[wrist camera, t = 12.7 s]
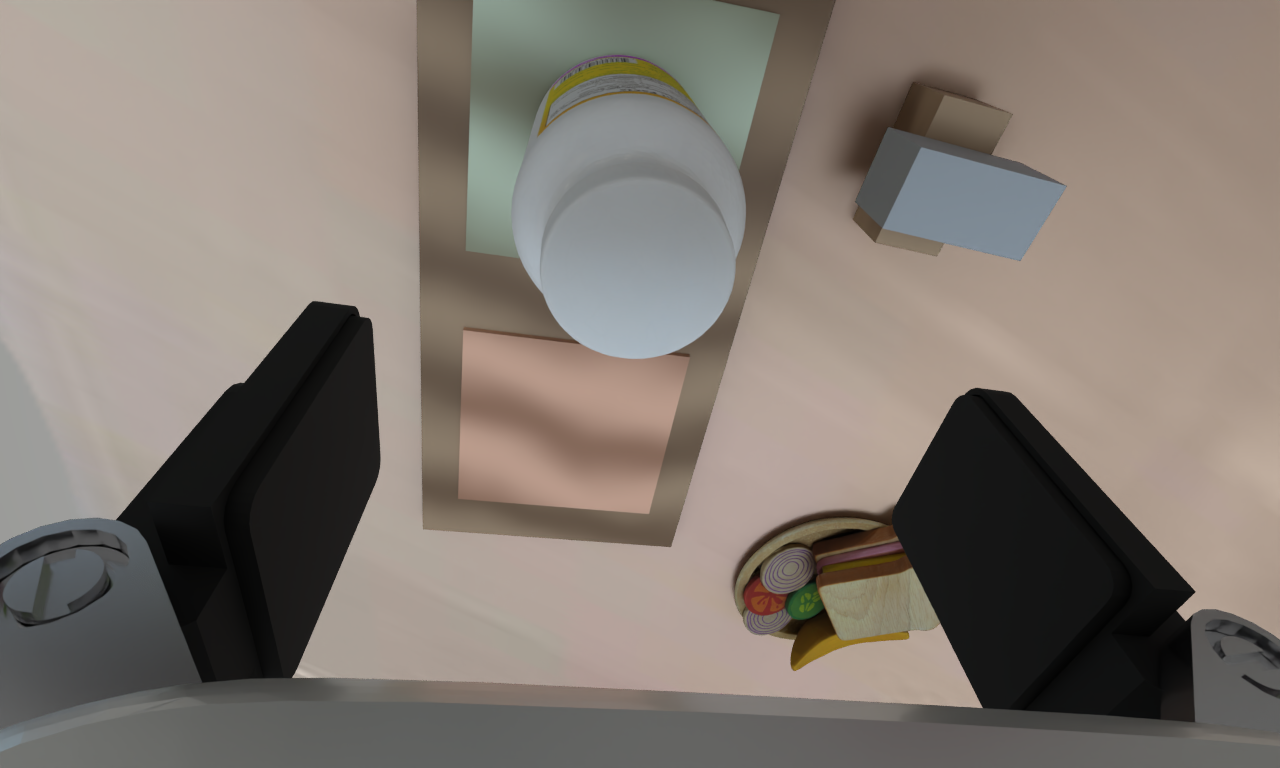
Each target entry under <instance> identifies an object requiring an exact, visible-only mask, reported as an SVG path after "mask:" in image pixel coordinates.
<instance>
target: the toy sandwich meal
mask: <svg viewBox="0 0 1280 768" xmlns="http://www.w3.org/2000/svg"><path fill="white" fill-rule="evenodd" d="M735 603H736V606H737V608H738V611H739V612H740V614H741V616H742V617H743V622H744V625H745V626H746V628H747V629H748V630H749V631H750V632H751V633H753V634H755V635H768V634H769V635H772V636H775V637H779V638H784V639H791V640H795V642H794V644H793V648H792V653H791V668H792V670H794V671H796V670H798V669H800V668H802V667H803V666H805V665H806V664H808V663H810V662H811V661H813V660H815V659H817V658H819V657H822V656H824V655H826V654H828V653H830V652H832V651H834V650H837V649H839V648H842V647H846V646H849V645H853V644H858V643H865V642H876V641H887V640H905V639H908V638H909V633H908V631H910V630H922V631H927V630H931V629H934V628H935V627H937V626H938V625H939V623H940V621H939V619H938V617H937V615H936V613H935V611H934V609H933V607H932V605H931V603H930V601H929V599H928V597H927V595H926V593H925V591H924V589H923V587H922V585H921V583H920V581H919V579H918V577H917V575H916V573H915V571H914V569H913V567H912V565H911V563H910V561H909V559H908V557H907V555H906V553H905V551H904V549H903V547H902V545H901V543H900V541H899V539H898V537H897V535H896V533H895V531H894V529H893V525H890V526H887V525H885V524H882V523H879V522H876V521H872V520H867V519H859V518H848V517H835V518H825V519H819V520H814V521H810V522H807V523H803V524H800V525H797V526H795V527H792V528H790V529H788V530H786V531H784V532H782V533H780V534H778V535H777V536H775V537H773V538H772V539H771V540H769V541H768V542H767V543H765V544H764V545H763V546H762V547H761V548H760V549H759V550H757V551H756V552H755V553H754V554H753V555H752V556H751V557H750V559H749V560H748V561H747V562H746V564H745V565H744V567H743V568H742V570H741V572H740V574H739V576H738V579H737V582H736V586H735Z"/></svg>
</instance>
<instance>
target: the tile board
mask: <svg viewBox="0 0 1280 768" xmlns="http://www.w3.org/2000/svg"><path fill="white" fill-rule="evenodd" d="M834 3H835V0H417V64H418V150H419V235H420V321H421V406H422V491H423V529H427V530H441V531H455V532H469V533H483V534H497V535H511V536H525V537H539V538H553V539H567V540H581V541H594V542H608V543H622V544H636V545H650V546H664V547H671V545H672V542H673V538H674V535H675V532H676V528H677V525H678V522H679V519H680V515H681V512H682V509H683V505H684V502H685V499H686V495H687V492H688V489H689V485H690V482H691V479H692V475H693V472H694V469H695V465H696V462H697V459H698V455H699V452H700V449H701V445H702V442H703V439H704V435H705V432H706V429H707V425H708V422H709V419H710V415H711V412H712V409H713V406H714V402H715V399H716V396H717V392H718V389H719V386H720V382H721V379H722V376H723V372H724V369H725V366H726V362H727V359H728V356H729V352H730V349H731V346H732V342H733V339H734V336H735V332H736V329H737V326H738V322H739V319H740V316H741V312H742V309H743V306H744V302H745V299H746V296H747V293H748V289H749V286H750V283H751V279H752V276H753V273H754V269H755V266H756V263H757V259H758V256H759V253H760V249H761V246H762V243H763V239H764V236H765V233H766V229H767V226H768V223H769V219H770V216H771V213H772V209H773V206H774V203H775V199H776V196H777V193H778V189H779V186H780V183H781V180H782V176H783V173H784V170H785V166H786V163H787V160H788V156H789V153H790V150H791V146H792V143H793V140H794V136H795V133H796V130H797V126H798V123H799V120H800V116H801V113H802V110H803V106H804V103H805V100H806V96H807V93H808V90H809V86H810V83H811V80H812V76H813V73H814V70H815V66H816V63H817V60H818V57H819V53H820V50H821V47H822V43H823V40H824V37H825V33H826V30H827V27H828V23H829V20H830V17H831V13H832V10H833V7H834ZM611 54H622V55H631V56H635V57H639V58H642V59H645V60H647V61H650V62H652V63H654V64H655V65H657V66H659V67H660V68H662V69H664V70H665V71H666V72H667V73H669V74H670V75H671V76H672V77H673V78H674V79H676V80H677V81H678V83H679V84H680V85H681V86H682V87H683V88H684V90H685V91H686V92H687V94H688V95H689V96H690V98H691V99H692V100H693V102H694V103H695V105H696V106H697V107H698V109H699V110H700V112H701V113H702V114H703V116H704V117H705V119H706V120H707V121H708V123H709V124H710V126H711V127H712V128H713V129H714V131H715V132H716V133H717V135H718V136H719V137H720V139H721V140H722V141H723V143H724V144H725V146H726V147H727V149H728V150H729V152H730V154H731V156H732V157H733V159H734V161H735V164H736V166H737V168H738V171H739V174H740V177H741V180H742V184H743V188H744V193H745V203H746V220H745V230H744V236H743V240H742V243H741V247H740V250H739V252H738V255H737V257H736V269H735V279H734V284H733V288H732V292H731V294H730V297H729V299H728V302H727V304H726V306H725V307H724V309H723V311H722V313H721V314H720V316H719V317H718V319H717V320H716V321H715V323H714V324H713V325H712V326H711V327H710V328H709V329H708V330H707V331H706V332H705V333H704V334H703V335H701V336H700V337H699V338H697V339H696V340H695V341H693V342H692V343H690V344H688V345H686V346H685V347H683V348H681V349H679V350H677V351H674V352H672V353H669V354H666V355H662V356H658V357H652V358H645V359H627V358H620V357H613V356H609V355H605V354H602V353H599V352H597V351H594V350H591V349H589V348H588V347H586V346H584V345H582V344H581V343H579V342H578V341H576V340H575V339H574V338H572V337H571V336H570V335H569V334H568V333H567V332H566V331H565V330H564V329H563V328H562V327H561V326H560V325H559V323H558V322H557V321H556V319H555V318H554V316H553V315H552V313H551V311H550V309H549V308H548V305H547V303H546V300H545V298H544V295H543V293H542V292H541V291H540V290H539V289H538V288H537V286H536V285H535V284H534V282H533V281H532V279H531V278H530V276H529V275H528V273H527V271H526V270H525V268H524V266H523V264H522V261H521V259H520V257H519V255H518V252H517V248H516V245H515V241H514V236H513V230H512V220H511V209H512V197H513V192H514V187H515V183H516V180H517V176H518V173H519V171H520V168H521V165H522V162H523V158H524V155H525V152H526V148H527V145H528V141H529V138H530V134H531V131H532V127H533V124H534V120H535V117H536V114H537V112H538V109H539V107H540V104H541V102H542V100H543V98H544V96H545V95H546V93H547V92H548V90H549V89H550V88H551V86H552V85H553V84H554V83H555V81H556V80H557V79H558V78H559V77H560V76H562V75H563V74H564V73H565V72H566V71H568V70H569V69H571V68H572V67H574V66H575V65H577V64H579V63H581V62H583V61H585V60H588V59H591V58H594V57H598V56H603V55H611Z"/></svg>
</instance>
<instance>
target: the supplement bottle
mask: <svg viewBox="0 0 1280 768" xmlns="http://www.w3.org/2000/svg"><path fill="white" fill-rule="evenodd" d="M511 220H512V230H513V236H514V241H515V245H516V248H517V252H518V255H519V257H520V259H521V261H522V264H523V266H524V268H525V270H526V271H527V273H528V275H529V276H530V278H531V279H532V281H533V282H534V284H535V285H536V286H537V288H538V289H539V290H540V291H541V292H542V293H543V295H544V298H545V300H546V303H547V305H548V308H549V309H550V311H551V313H552V315H553V316H554V318H555V319H556V321H557V322H558V323H559V325H560V326H561V327H562V328H563V329H564V330H565V331H566V332H567V333H568V334H569V335H570V336H571V337H572V338H574V339H575V340H576V341H578V342H579V343H581V344H582V345H584V346H586V347H588V348H589V349H591V350H594V351H597V352H599V353H602V354H605V355H609V356H613V357H620V358H627V359H645V358H652V357H658V356H662V355H666V354H669V353H672V352H674V351H677V350H679V349H681V348H683V347H685V346H686V345H688V344H690V343H692V342H693V341H695V340H696V339H697V338H699V337H700V336H701V335H703V334H704V333H705V332H706V331H707V330H708V329H709V328H710V327H711V326H712V325H713V324H714V323H715V321H716V320H717V319H718V317H719V316H720V314H721V313H722V311H723V309H724V307H725V306H726V304H727V302H728V299H729V297H730V294H731V292H732V288H733V284H734V279H735V269H736V257H737V255H738V252H739V250H740V247H741V243H742V240H743V236H744V230H745V220H746V203H745V193H744V188H743V184H742V180H741V177H740V174H739V171H738V168H737V166H736V164H735V161H734V159H733V157H732V156H731V154H730V152H729V150H728V149H727V147H726V146H725V144H724V143H723V141H722V140H721V139H720V137H719V136H718V135H717V133H716V132H715V131H714V129H713V128H712V127H711V126H710V124H709V123H708V121H707V120H706V119H705V117H704V116H703V114H702V113H701V112H700V110H699V109H698V107H697V106H696V105H695V103H694V102H693V100H692V99H691V98H690V96H689V95H688V94H687V92H686V91H685V90H684V88H683V87H682V86H681V85H680V84H679V83H678V81H677V80H676V79H674V78H673V77H672V76H671V75H670V74H669V73H667V72H666V71H665V70H664V69H662V68H660V67H659V66H657V65H655V64H654V63H652V62H650V61H647V60H645V59H642V58H639V57H635V56H631V55H622V54H611V55H603V56H598V57H594V58H591V59H588V60H585V61H583V62H581V63H579V64H577V65H575V66H574V67H572V68H571V69H569V70H568V71H566V72H565V73H564V74H563V75H562V76H560V77H559V78H558V79H557V80H556V81H555V83H554V84H553V85H552V86H551V88H550V89H549V90H548V92H547V93H546V95H545V96H544V98H543V100H542V102H541V104H540V107H539V109H538V112H537V114H536V117H535V120H534V124H533V127H532V131H531V134H530V138H529V141H528V145H527V148H526V152H525V155H524V158H523V162H522V165H521V168H520V171H519V173H518V176H517V180H516V183H515V187H514V192H513V197H512V209H511Z"/></svg>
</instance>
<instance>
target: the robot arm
mask: <svg viewBox="0 0 1280 768" xmlns="http://www.w3.org/2000/svg"><path fill="white" fill-rule="evenodd" d="M379 469H380V440H379V424H378V408H377V392H376V375H375V359H374V343H373V328H372V322H371V320H370V319H369V318H364V317H360V315H359V312H358V309H357V308H356V307H355V306H348V305H341V304H333V303H326V302H318V301H313V302H311V303H310V304H309V305H308V306H307V307H306V309H305V310H304V311H303V312H302V313H301V315H300V316H299V317H298V318H297V320H296V321H295V322H294V323H293V324H292V326H291V327H290V328H289V329H288V330H287V332H286V333H285V334H284V335H283V337H282V338H281V339H280V340H279V341H278V343H277V344H276V345H275V346H274V348H273V349H272V350H271V351H270V352H269V354H268V355H267V356H266V357H265V358H264V360H263V361H262V362H261V363H260V365H259V366H258V367H257V368H256V369H255V371H254V372H253V373H252V374H251V376H250V377H249V378H248V379H247V380H246V382H245V383H238V384H234V385H232V386H231V387H230V388H229V389H227V390H226V391H225V392H224V394H223V395H222V396H221V397H220V398H219V399H218V401H217V402H216V403H215V404H214V405H213V406H212V408H211V409H210V410H209V411H208V412H207V414H206V415H205V416H204V417H203V418H202V419H201V421H200V422H199V423H198V424H197V425H196V426H195V428H194V429H193V430H192V431H191V432H190V434H189V435H188V436H187V437H186V438H185V439H184V441H183V442H182V443H181V444H180V445H179V446H178V448H177V449H176V450H175V451H174V452H173V454H172V455H171V456H170V457H169V458H168V459H167V461H166V462H165V463H164V464H163V465H162V466H161V468H160V469H159V470H158V471H157V472H156V474H155V475H154V476H153V477H152V478H151V479H150V481H149V482H148V483H147V484H146V485H145V487H144V488H143V489H142V490H141V491H140V492H139V494H138V495H137V496H136V497H135V498H134V499H133V501H132V502H131V503H130V504H129V505H128V507H127V508H126V509H125V510H124V511H123V512H122V514H121V515H120V516H119V517H118V518H117V519H116V520H109V519H102V518H87V519H72V520H66V521H62V522H58V523H54V524H49V525H45V526H41V527H38V528H36V529H33V530H31V531H28V532H26V533H23V534H21V535H18V536H16V537H13V538H11V539H9V540H7V541H6V542H4V543H2V544H1V545H0V768H1280V640H1279V639H1278V638H1277V637H1275V636H1274V635H1273V634H1271V633H1269V632H1268V631H1266V630H1264V629H1262V628H1261V627H1259V626H1257V625H1256V624H1254V623H1252V622H1250V621H1248V620H1245V619H1243V618H1241V617H1239V616H1236V615H1234V614H1231V613H1227V612H1223V611H1220V610H1216V609H1202V610H1200V611H1198V612H1196V613H1195V614H1193V615H1192V616H1191V617H1190V618H1189V619H1188V620H1187V621H1185V620H1184V619H1183V618H1182V617H1181V615H1180V614H1179V613H1178V612H1177V611H1176V610H1177V609H1178V608H1179V607H1180V606H1182V605H1183V604H1184V603H1185V602H1186V601H1187V600H1188V599H1189V598H1190V597H1191V596H1192V595H1193V594H1194V593H1195V591H1194V590H1193V588H1192V587H1191V586H1190V585H1189V584H1188V583H1187V582H1186V581H1185V580H1184V579H1183V578H1182V577H1181V575H1180V574H1179V573H1178V572H1177V571H1176V570H1175V569H1174V568H1173V567H1172V566H1171V565H1170V563H1169V562H1168V561H1167V560H1166V559H1165V558H1164V557H1163V556H1162V555H1161V554H1160V553H1159V552H1158V550H1157V549H1156V548H1155V547H1154V546H1153V545H1152V544H1151V543H1150V542H1149V541H1148V540H1147V539H1146V537H1145V536H1144V535H1143V534H1142V533H1141V532H1140V531H1139V530H1138V529H1137V528H1136V527H1135V525H1134V524H1133V523H1132V522H1131V521H1130V520H1129V519H1128V518H1127V517H1126V516H1125V515H1124V514H1123V512H1122V511H1121V510H1120V509H1119V508H1118V507H1117V506H1116V505H1115V504H1114V503H1113V502H1112V500H1111V499H1110V498H1109V497H1108V496H1107V495H1106V494H1105V493H1104V492H1103V491H1102V490H1101V489H1100V487H1099V486H1098V485H1097V484H1096V483H1095V482H1094V481H1093V480H1092V479H1091V478H1090V477H1089V476H1088V474H1087V473H1086V472H1085V471H1084V470H1083V469H1082V468H1081V467H1080V466H1079V465H1078V464H1077V462H1076V461H1075V460H1074V459H1073V458H1072V457H1071V456H1070V455H1069V454H1068V453H1067V452H1066V451H1065V449H1064V448H1063V447H1062V446H1061V445H1060V444H1059V443H1058V442H1057V441H1056V440H1055V439H1054V437H1053V436H1052V435H1051V434H1050V433H1049V432H1048V431H1047V430H1046V429H1045V428H1044V427H1043V426H1042V424H1041V423H1040V422H1039V421H1038V420H1037V419H1036V418H1035V417H1034V416H1033V415H1032V414H1031V413H1030V411H1029V410H1028V409H1027V408H1026V407H1025V406H1024V405H1023V404H1022V403H1021V402H1020V401H1019V399H1018V398H1017V397H1016V396H1014V395H1013V394H1012V393H1009V392H1004V391H996V390H989V389H981V388H974V389H971V390H969V391H968V392H967V393H966V394H965V395H962V396H959V397H958V398H957V399H956V400H955V401H954V403H953V405H952V406H951V408H950V410H949V412H948V414H947V415H946V417H945V419H944V421H943V422H942V424H941V426H940V428H939V430H938V431H937V433H936V435H935V437H934V438H933V440H932V442H931V444H930V446H929V447H928V449H927V451H926V453H925V454H924V456H923V458H922V460H921V462H920V463H919V465H918V467H917V469H916V470H915V472H914V474H913V476H912V478H911V479H910V481H909V483H908V485H907V486H906V488H905V490H904V492H903V494H902V495H901V497H900V499H899V501H898V502H897V504H896V506H895V508H894V510H893V514H892V525H893V529H894V531H895V533H896V535H897V537H898V539H899V541H900V543H901V545H902V547H903V549H904V551H905V553H906V555H907V557H908V559H909V561H910V563H911V565H912V567H913V569H914V571H915V573H916V575H917V577H918V579H919V581H920V583H921V585H922V587H923V589H924V591H925V593H926V595H927V597H928V599H929V601H930V603H931V605H932V607H933V609H934V611H935V613H936V615H937V617H938V619H939V621H940V623H941V625H942V627H943V629H944V631H945V633H946V635H947V637H948V639H949V641H950V643H951V645H952V647H953V649H954V651H955V653H956V655H957V657H958V659H959V661H960V663H961V665H962V667H963V669H964V671H965V673H966V675H967V677H968V679H969V681H970V683H971V685H972V687H973V689H974V691H975V693H976V695H977V697H978V699H979V701H980V703H981V705H982V707H983V708H971V707H954V706H937V705H919V704H901V703H882V702H864V701H845V700H827V699H808V698H789V697H770V696H751V695H732V694H712V693H693V692H672V691H651V690H630V689H609V688H588V687H567V686H546V685H525V684H505V683H484V682H452V681H420V680H388V679H356V678H292V677H293V675H294V674H295V672H296V670H297V668H298V665H299V663H300V660H301V658H302V656H303V653H304V651H305V649H306V646H307V644H308V642H309V639H310V637H311V634H312V632H313V630H314V627H315V625H316V623H317V620H318V618H319V616H320V613H321V611H322V608H323V606H324V604H325V601H326V599H327V597H328V594H329V592H330V590H331V587H332V585H333V583H334V580H335V578H336V575H337V573H338V571H339V568H340V566H341V564H342V561H343V559H344V557H345V554H346V552H347V549H348V547H349V545H350V542H351V540H352V538H353V535H354V533H355V531H356V528H357V526H358V523H359V521H360V519H361V516H362V514H363V512H364V509H365V507H366V505H367V502H368V500H369V497H370V495H371V493H372V490H373V488H374V486H375V483H376V481H377V478H378V474H379Z"/></svg>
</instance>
